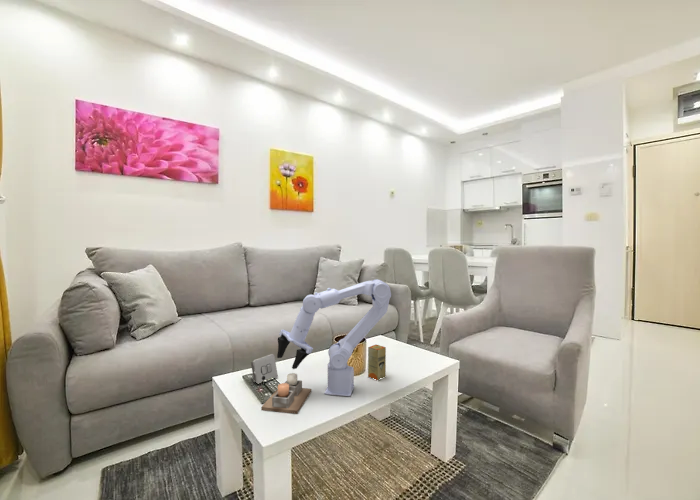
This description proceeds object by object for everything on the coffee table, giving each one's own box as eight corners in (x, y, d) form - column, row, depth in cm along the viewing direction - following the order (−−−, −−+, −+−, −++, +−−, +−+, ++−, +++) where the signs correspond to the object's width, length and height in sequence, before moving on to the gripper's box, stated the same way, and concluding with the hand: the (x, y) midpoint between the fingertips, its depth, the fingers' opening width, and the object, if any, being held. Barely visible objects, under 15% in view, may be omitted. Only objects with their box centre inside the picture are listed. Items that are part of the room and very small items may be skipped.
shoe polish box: (368, 377, 124) (368, 347, 124) (375, 373, 128) (376, 344, 127) (377, 380, 121) (377, 350, 120) (385, 377, 124) (385, 347, 124)
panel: (311, 391, 112) (311, 380, 112) (297, 413, 97) (297, 401, 97) (280, 388, 114) (280, 377, 114) (261, 410, 99) (261, 397, 99)
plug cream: (298, 382, 111) (298, 373, 111) (295, 386, 107) (295, 378, 107) (289, 381, 111) (289, 372, 111) (285, 385, 108) (285, 377, 108)
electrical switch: (258, 386, 116) (256, 361, 116) (250, 383, 119) (248, 359, 119) (278, 378, 123) (277, 354, 123) (270, 376, 126) (269, 352, 127)
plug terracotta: (290, 392, 103) (290, 383, 103) (286, 397, 99) (286, 388, 99) (280, 391, 103) (280, 382, 103) (275, 396, 100) (275, 387, 100)
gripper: (280, 318, 111) (265, 353, 111) (309, 336, 104) (294, 374, 103) (292, 318, 117) (278, 352, 117) (321, 336, 110) (306, 372, 109)
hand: (286, 362), depth 110 cm, fingers open, 7 cm apart
